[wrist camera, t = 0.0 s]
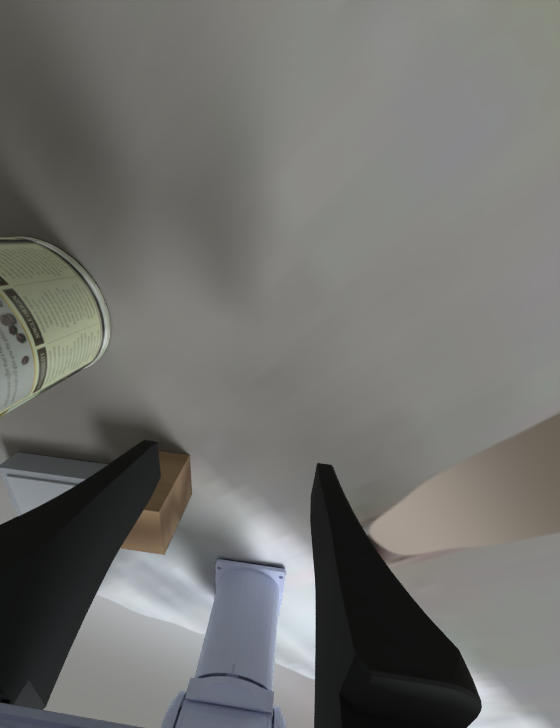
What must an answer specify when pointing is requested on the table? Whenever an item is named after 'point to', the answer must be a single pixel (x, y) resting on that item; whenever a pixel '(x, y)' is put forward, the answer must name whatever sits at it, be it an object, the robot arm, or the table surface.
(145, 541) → the walnut block
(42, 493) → the pedestal
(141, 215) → the table surface
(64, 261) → the coffee can
